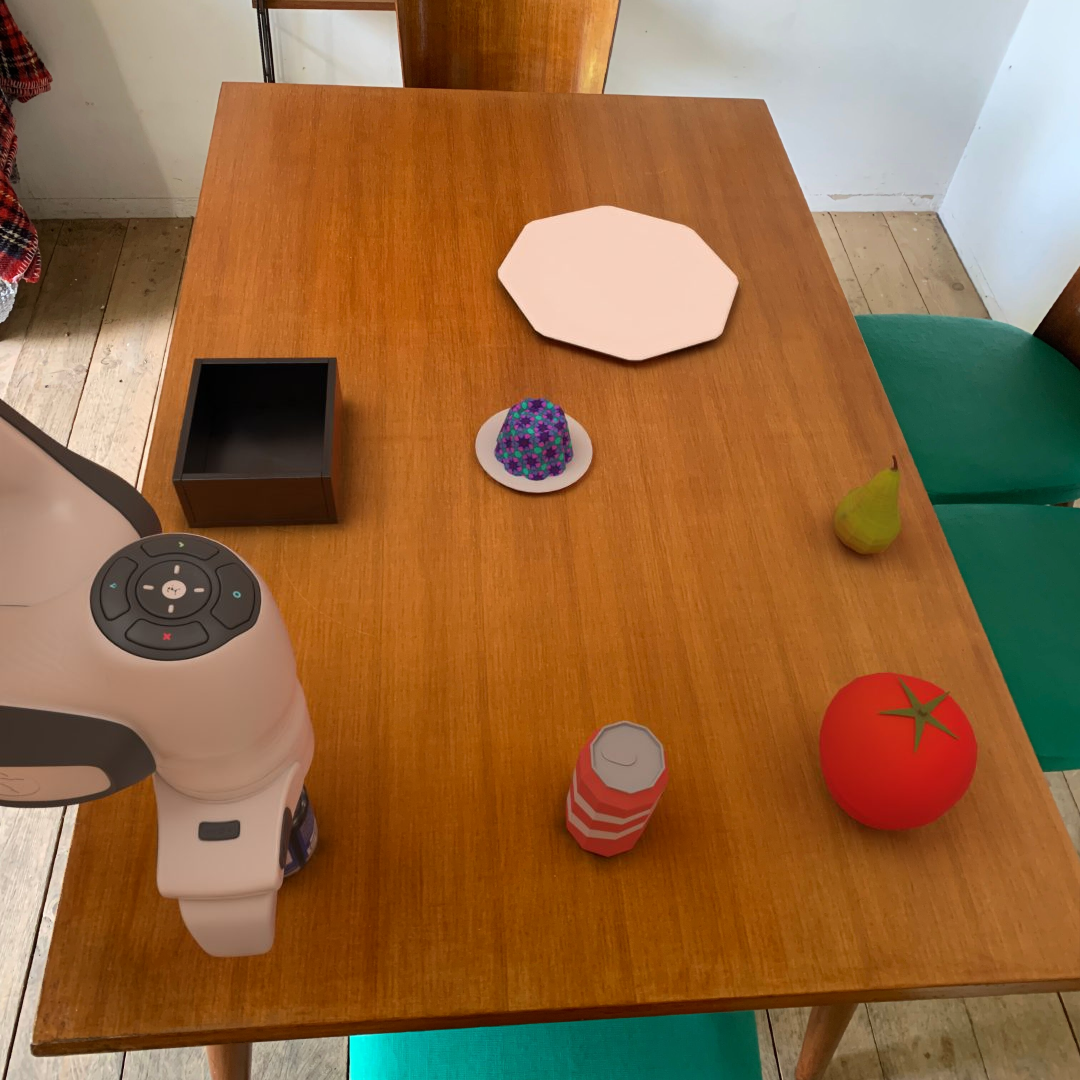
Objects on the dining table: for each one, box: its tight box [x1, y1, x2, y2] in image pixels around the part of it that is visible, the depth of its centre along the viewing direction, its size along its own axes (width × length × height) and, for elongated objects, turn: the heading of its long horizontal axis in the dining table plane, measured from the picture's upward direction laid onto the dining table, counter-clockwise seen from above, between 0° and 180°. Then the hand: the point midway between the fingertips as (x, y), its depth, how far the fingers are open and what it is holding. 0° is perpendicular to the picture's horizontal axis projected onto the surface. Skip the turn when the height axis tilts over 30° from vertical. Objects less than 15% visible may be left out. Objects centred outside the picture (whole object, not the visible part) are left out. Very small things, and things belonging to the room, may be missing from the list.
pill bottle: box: [283, 783, 319, 881], centre depth 64 cm, size 6×6×11 cm
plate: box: [497, 205, 740, 362], centre depth 111 cm, size 28×28×2 cm
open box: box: [171, 356, 344, 529], centre depth 88 cm, size 14×16×7 cm
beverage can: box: [565, 719, 670, 858], centre depth 67 cm, size 6×6×12 cm
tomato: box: [818, 671, 978, 831], centre depth 70 cm, size 11×11×13 cm
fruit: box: [832, 454, 902, 555], centre depth 86 cm, size 6×6×12 cm
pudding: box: [474, 397, 593, 493], centre depth 92 cm, size 12×12×5 cm
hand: (269, 822), depth 65 cm, fingers closed on pill bottle, 6 cm apart
